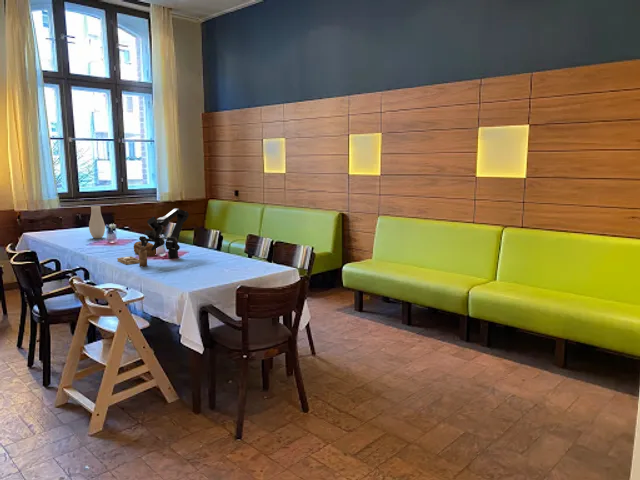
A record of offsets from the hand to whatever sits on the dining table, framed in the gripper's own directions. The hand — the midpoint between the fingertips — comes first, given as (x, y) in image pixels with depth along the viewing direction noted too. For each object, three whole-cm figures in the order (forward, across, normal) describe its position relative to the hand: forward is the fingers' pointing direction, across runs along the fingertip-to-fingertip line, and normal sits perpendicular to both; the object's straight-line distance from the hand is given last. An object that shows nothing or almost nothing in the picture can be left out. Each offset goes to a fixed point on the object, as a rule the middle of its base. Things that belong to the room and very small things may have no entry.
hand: (146, 250), depth 342 cm
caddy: (+6, -18, +9) cm, 21 cm away
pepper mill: (+10, 0, +5) cm, 11 cm away
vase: (-48, -124, +63) cm, 147 cm away
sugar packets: (+5, -21, +10) cm, 24 cm away
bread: (-14, -27, +30) cm, 43 cm away
